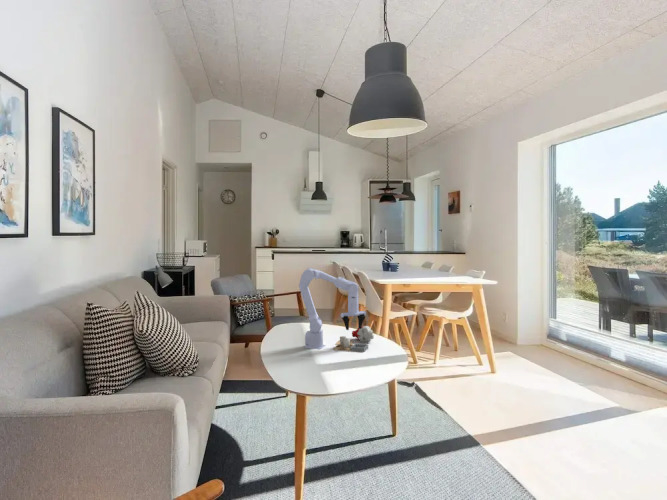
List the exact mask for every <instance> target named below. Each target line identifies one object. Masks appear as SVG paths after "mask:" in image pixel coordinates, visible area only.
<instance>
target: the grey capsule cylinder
mask: <svg viewBox="0 0 667 500" xmlns="http://www.w3.org/2000/svg"><path fill="white" fill-rule="evenodd" d="M345 338H347V337H346V336H345V335H341V336H339V340H340V347H341V348H344V339H345Z"/></svg>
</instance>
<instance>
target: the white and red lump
mask: <svg viewBox="0 0 667 500" xmlns="http://www.w3.org/2000/svg"><path fill="white" fill-rule="evenodd" d="M373 333H374V331H373V330H372V329H371V327H370V326H368V325H362V327H361V329H360V328H358V327H357V329H356V330H353V331H351V336H352V337H353V338H357V340H359V341H360V342H362V343H363V342H365V343H369V342H370V341H372V340H373V339H374V334H373Z"/></svg>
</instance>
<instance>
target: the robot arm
mask: <svg viewBox="0 0 667 500" xmlns="http://www.w3.org/2000/svg"><path fill="white" fill-rule="evenodd" d="M314 279H315V280H319V279H321V280H323V281H327V282H330V283H331V284H332V283H333V285H334V286H335V287H336V288H338V289H341V290H343V291H347V292H348V296H347V309H348V310H347V312H342V313H340V318H341V319H342V321H343V323H344V327H345V330H346V331H349V329H350V324H349V323H350V318H349V317H356V316H357V322H358V325H357V326H358V327H357V329H358V328H360V329H361V327H362V326H363V323H364V321H365V319H366V316H367V311H365V310H362V311H360V310H359V302H360V301H359V285H358V283H357V282H355V281H352V280H348V279H345V278H344V276H339V277H335V276H333V275H330V274H328V273H326V272H325V271H322V270H319V269H315V268H313V267H308V268H307V269H305V270H304V271H303V272H302V274H301V276H300V280H299V284H298V287H299V291H300V293H301V294H300V295H301V297H302V300H303V303H304V306H305V308H306V309H305V310H306V312H307V313H306V314H307V315H308V321H309V330H307V331H306V332H305V335H304V344H305V345H304V349H313V350H321V349H322V348H324V347H326V344H324V339H323V338H324V335H323V334H324V333H323V331H324V330H323V329H322V326H323V321H322V320H321V318H320V316H319V315H318V313H317V310H316V307H315V304H314V300H313V298H312V294H311V291H310V288H309V286H310V284H311V281H313V280H314Z"/></svg>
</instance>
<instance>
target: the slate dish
mask: <svg viewBox="0 0 667 500" xmlns="http://www.w3.org/2000/svg"><path fill="white" fill-rule="evenodd" d="M353 344H354V345H353V346H351V352H360V353H364V352H366V351H367V350H369V344H368V343H367V344H363V343H353Z"/></svg>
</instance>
